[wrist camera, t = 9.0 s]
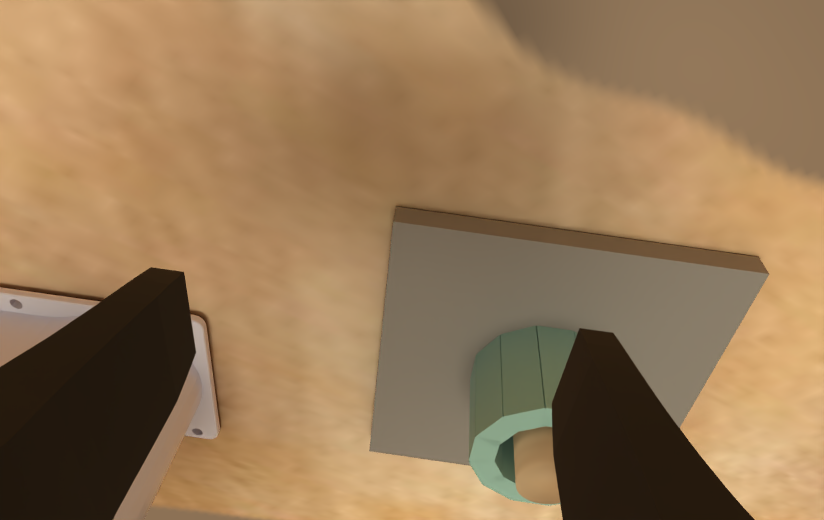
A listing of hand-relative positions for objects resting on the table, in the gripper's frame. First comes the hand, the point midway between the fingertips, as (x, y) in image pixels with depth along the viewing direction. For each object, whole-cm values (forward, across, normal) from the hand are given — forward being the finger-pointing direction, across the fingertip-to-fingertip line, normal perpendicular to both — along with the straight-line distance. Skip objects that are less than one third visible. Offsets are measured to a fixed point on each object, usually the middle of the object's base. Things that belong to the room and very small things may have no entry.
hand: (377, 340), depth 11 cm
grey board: (+10, -6, +10) cm, 16 cm away
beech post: (+9, -6, +10) cm, 15 cm away
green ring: (+9, -6, +10) cm, 15 cm away
